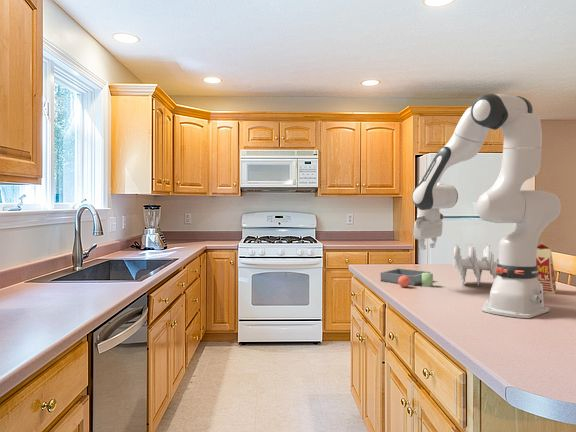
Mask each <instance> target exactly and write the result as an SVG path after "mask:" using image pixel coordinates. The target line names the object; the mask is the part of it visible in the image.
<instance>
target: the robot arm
mask: <svg viewBox="0 0 576 432" xmlns="http://www.w3.org/2000/svg"><path fill="white" fill-rule="evenodd" d="M498 129H499V130H500V131H501V132H502V134H503V146H502V157H501V165H500V171H499V174H498V176H497V178H496V180H495V181H494V183H493V184H492V186H491V187H490V188H488V189H487V190H485V191H484V192H483V193H482V194H481V195H480V196H479V197H478V199H477V201H476V206H475V207H476V213H477V215H478V216H479V218H480V219H481V221H482V220H483V221H484V222H489V223H494V224H516V225H515V228H514V230H513V231H512V232H511V233H509V234H506V235H505V236H503V237H502V238H501V239H500V241H499V242H498V255H499V257H498V258H499V263H498V264H497V267H496V270H495V272H496V275H497V277H496V278H495V279H493V282H492V285H491V288H490V291H489V298H487V299H486V300H485V302H484V304H483V305H482V307H481V311H482V312H485V313H488V314H493V315H499V316H505V317H510V318H511V317H513V318H518V319H519V318H520V319H531V318H534V317H537V316H540V315H543V314H545V313H548V312H550V308H549V307H548V306H545V305H544V293H543V285H542V284H541V283H540V282H539V281H538V279H537V276H538V266H536V255H537V246H538V243H539V240H540V236H541V235H542V233H543V232H544V230H545V229H546V227H548V226H549V224H551V223H552V222H554V221H555V220H556V219H557V218H558V217H559V216H560V213H561V212H562V211H561V210H562V204H561V203H562V202H561V200H560V197H558V196H557V194H556V193H554V192H549V191H544V190H539V189H537V190H534V189H532V190H528V189H527V190H525V189H524V190H522V189H521V188H522V186H523V184H524V183H525V182H526V181H528V180H530V179H532V178H534V177H535V176H537V174H539V172H540V170H541V162H542V152H543V151H542V147H543V131H542V122H541V119H540V117H539V116H538V115H537V114H533V105H532V103H531V102H530V100H528V99H527V98H525V97H523V96H519V95H516V96H515V95H510V94H507V93H489V94H485V95H482V96H479V97H478V98H476V100H474V102H473V103H472V106H468V108H467V109H466V110H465V111H464V112H463V114H462V116H461V117H460V118H459V121H458V123H457V124H456V127H455V129H454V131H453V134H452V136H451V137H450V139H449V140H448V141H447V143H446V144H445V145H444V146H443V147H442V148H440V149H439V150H438V152H437V153H436V154H435V155H434V157H433V159H432V161H431V163H430V164H429V165H428V168H427V170H426V172H425V173H424V175H423V177H422V178H421V179H420V180H419V181H418V184H417V186H416V187H415V188H414V189H413V191H412V195H411V199H412V200H411V201H412V202H413V204H414V206H415V207H416V208H417V209H416V211H417V213H416V220H415V221H414V224H413V233H412V235H413V236H412V237H413V239H414V240H418V244H419V249H420V250H421V251H424V250H426V245H425V241H426V239H431V240H430V243H429V247H430V249H435V248H436V243H437V240H438V238H439V237H440V238H441V236H442V234H443V220H444V214H442V213H441V211H440V209H450V208H454V206H455V205H456V204H457V202H458V199H459V193H458V190H457V188H455V186H454V185H450V184H447V183H445V182H442V181H441V178H442V177H443V175H444V174H445V172H446V171H447V170H448V169H449V168H450V167H452V166H454V165H456V164H459V163H461V162H465V161H469V160H471V159H472V158H474V157H476V156H477V155H478V154H479V152H480V151H481V149H482V147H483V145H484V143H485V140H486V138H487V135H488V133H489V132H490V130H494V131H496V130H498Z"/></svg>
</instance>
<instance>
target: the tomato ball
mask: <svg viewBox="0 0 576 432" xmlns="http://www.w3.org/2000/svg"><path fill="white" fill-rule="evenodd" d="M398 283H399V284H398V285H399V286H400V287H402V288H408V287H409V286H410V285H409V284H410V279H409V278H408V277H407V276H401V277H399V279H398Z"/></svg>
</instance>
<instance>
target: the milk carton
mask: <svg viewBox="0 0 576 432" xmlns="http://www.w3.org/2000/svg"><path fill="white" fill-rule="evenodd" d="M536 266H538V276H537V279H538V281H539V282H540V283H541V284H542V285H543V294H551V295H555V294H556V292H557V284H556V275H555V269H554V268H555V267H554V261H553V254H552V248H550V247H548V246H546V245H544V244H543V240H541V241H540V244H539V245H537V255H536Z"/></svg>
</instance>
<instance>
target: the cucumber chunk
mask: <svg viewBox="0 0 576 432" xmlns="http://www.w3.org/2000/svg"><path fill="white" fill-rule="evenodd" d="M433 276H434V275H433V273H432V272H430V273H422V284H421V287H424V288H425V287H426V288H432V287H433V286H434V277H433Z"/></svg>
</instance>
